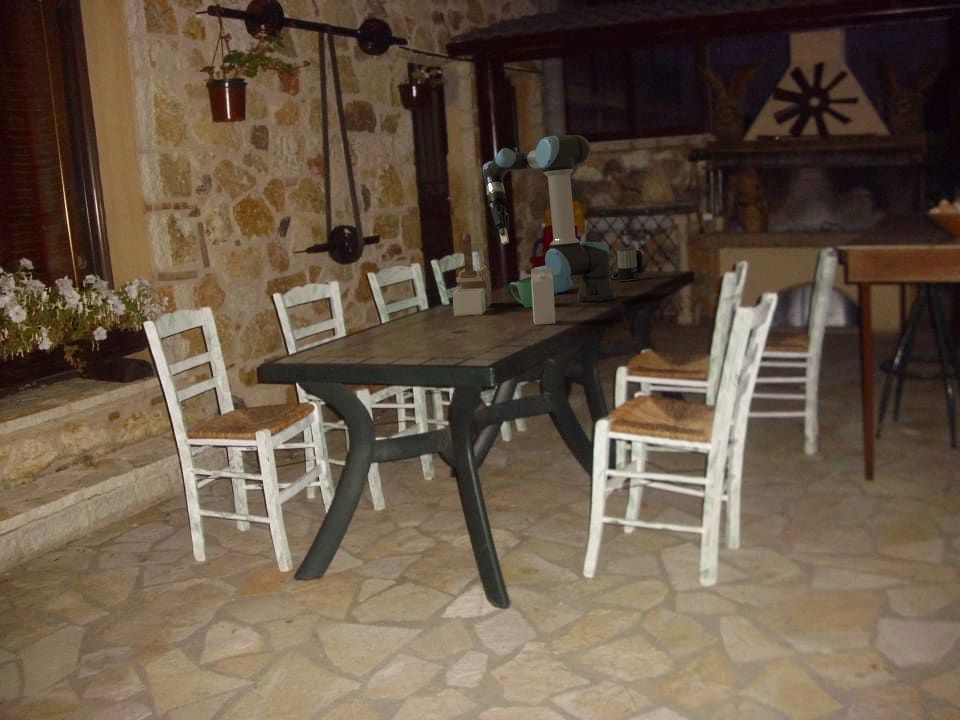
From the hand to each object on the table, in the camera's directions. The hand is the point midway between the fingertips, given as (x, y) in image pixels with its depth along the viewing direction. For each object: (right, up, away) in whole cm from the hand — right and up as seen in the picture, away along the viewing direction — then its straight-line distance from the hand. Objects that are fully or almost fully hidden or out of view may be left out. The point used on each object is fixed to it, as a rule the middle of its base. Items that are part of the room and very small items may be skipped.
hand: (505, 242), depth 395 cm
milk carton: (+12, -36, -61) cm, 72 cm away
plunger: (-15, -16, -24) cm, 32 cm away
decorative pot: (+21, -20, +18) cm, 34 cm away
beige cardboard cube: (-14, -30, -26) cm, 42 cm away
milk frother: (+56, -12, +45) cm, 73 cm away
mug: (+7, -27, -17) cm, 33 cm away
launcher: (-12, -28, -12) cm, 32 cm away
